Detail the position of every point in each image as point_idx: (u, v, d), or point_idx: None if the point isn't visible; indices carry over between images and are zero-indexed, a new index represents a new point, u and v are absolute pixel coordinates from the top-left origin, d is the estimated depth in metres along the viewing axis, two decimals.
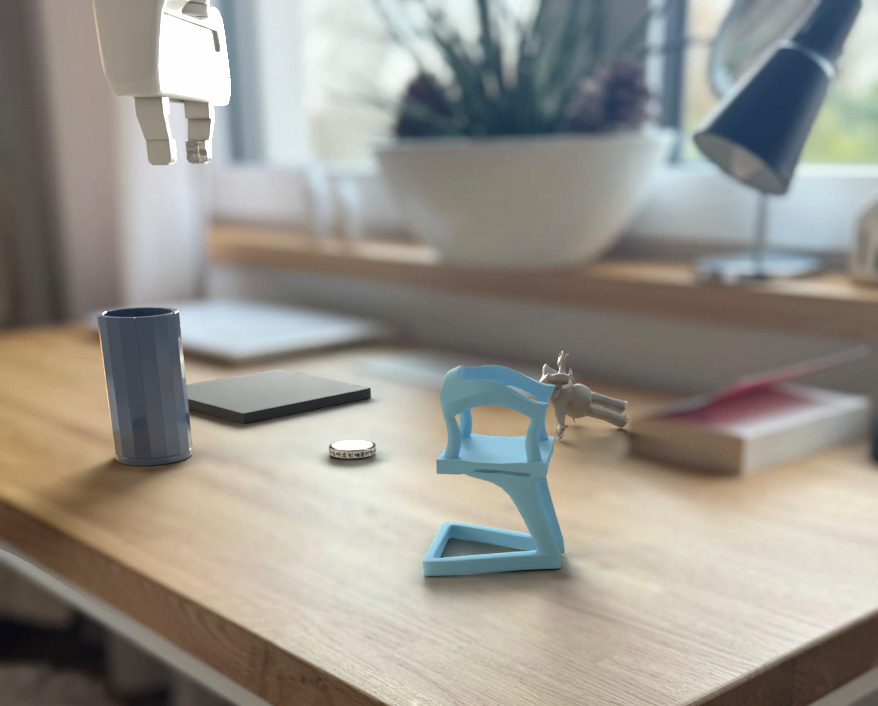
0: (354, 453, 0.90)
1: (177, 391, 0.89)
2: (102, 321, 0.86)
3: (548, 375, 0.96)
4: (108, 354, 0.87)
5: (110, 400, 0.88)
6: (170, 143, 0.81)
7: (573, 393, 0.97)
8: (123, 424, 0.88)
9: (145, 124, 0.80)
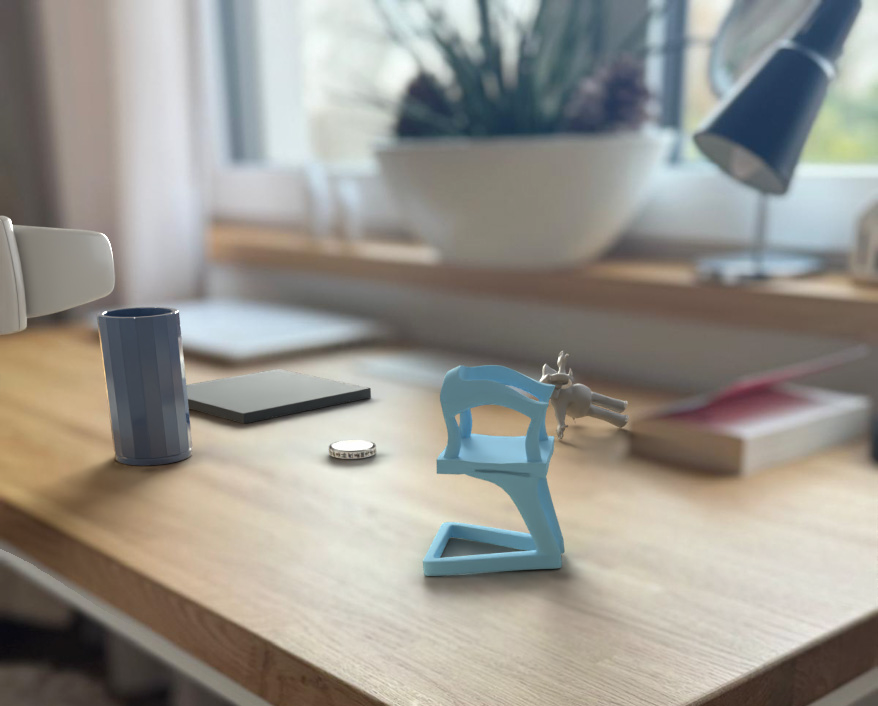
0: (354, 453, 0.90)
1: (177, 391, 0.89)
2: (102, 321, 0.86)
3: (548, 375, 0.96)
4: (108, 354, 0.87)
5: (110, 400, 0.88)
6: None
7: (573, 393, 0.97)
8: (123, 424, 0.88)
9: None
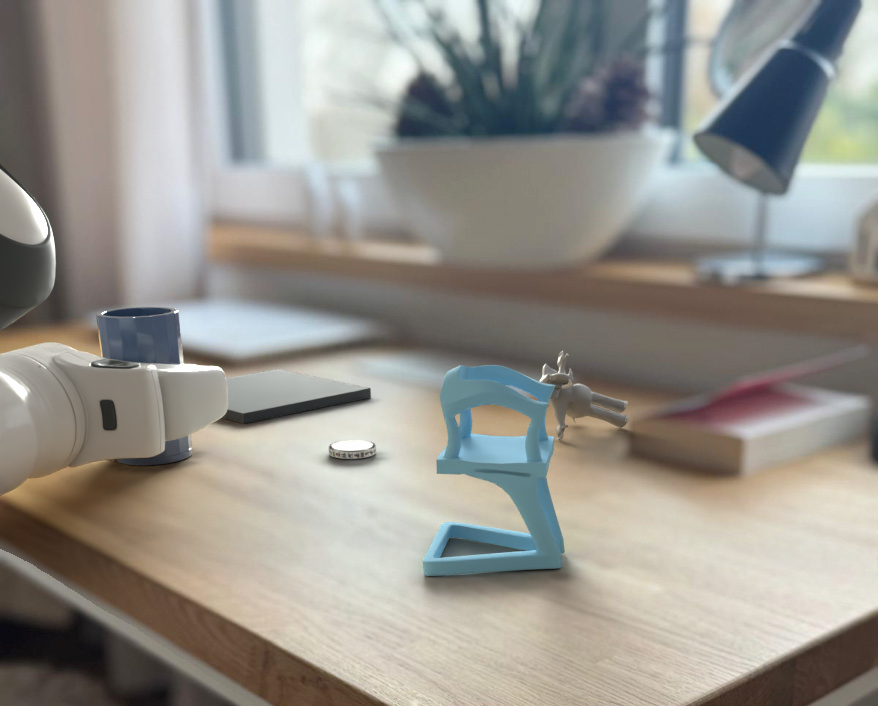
0: (354, 453, 0.90)
1: None
2: (102, 321, 0.86)
3: (548, 375, 0.96)
4: (107, 354, 0.87)
5: None
6: None
7: (573, 393, 0.97)
8: None
9: None
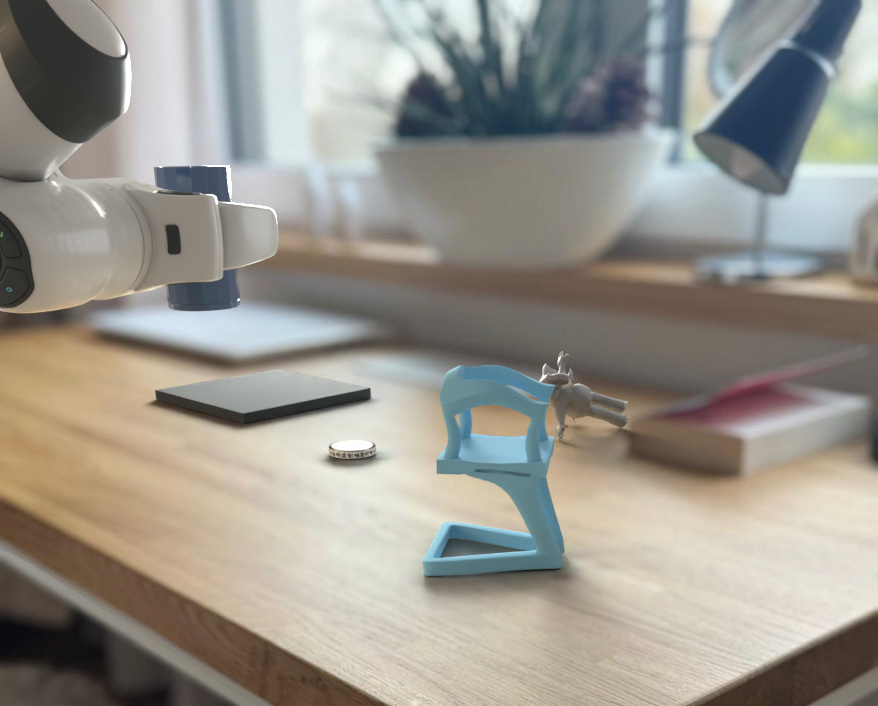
0: (354, 453, 0.90)
1: None
2: (160, 172, 0.93)
3: (548, 375, 0.96)
4: None
5: None
6: None
7: (573, 393, 0.97)
8: None
9: None
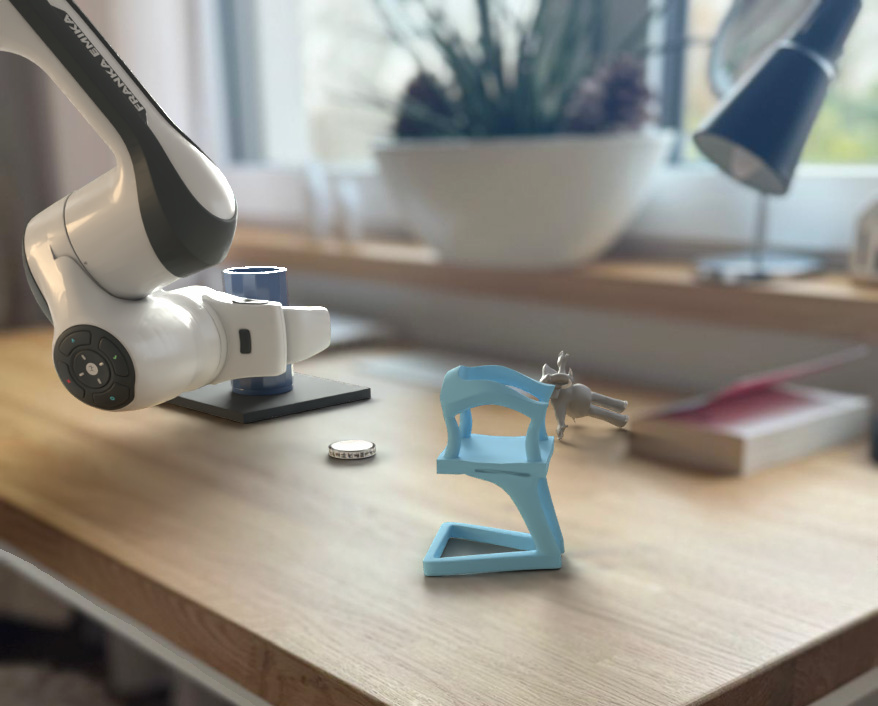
0: (354, 453, 0.90)
1: None
2: (227, 277, 1.06)
3: (548, 375, 0.96)
4: None
5: None
6: None
7: (573, 393, 0.97)
8: None
9: None
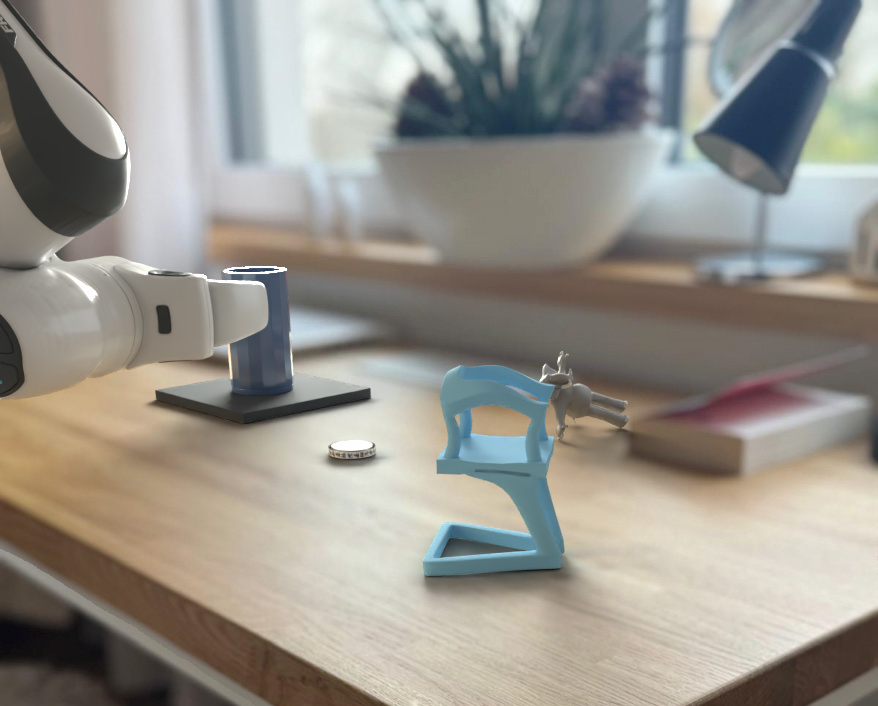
0: (354, 453, 0.90)
1: (285, 335, 1.09)
2: (227, 277, 1.06)
3: (548, 375, 0.96)
4: None
5: None
6: None
7: (573, 393, 0.97)
8: (242, 361, 1.09)
9: None
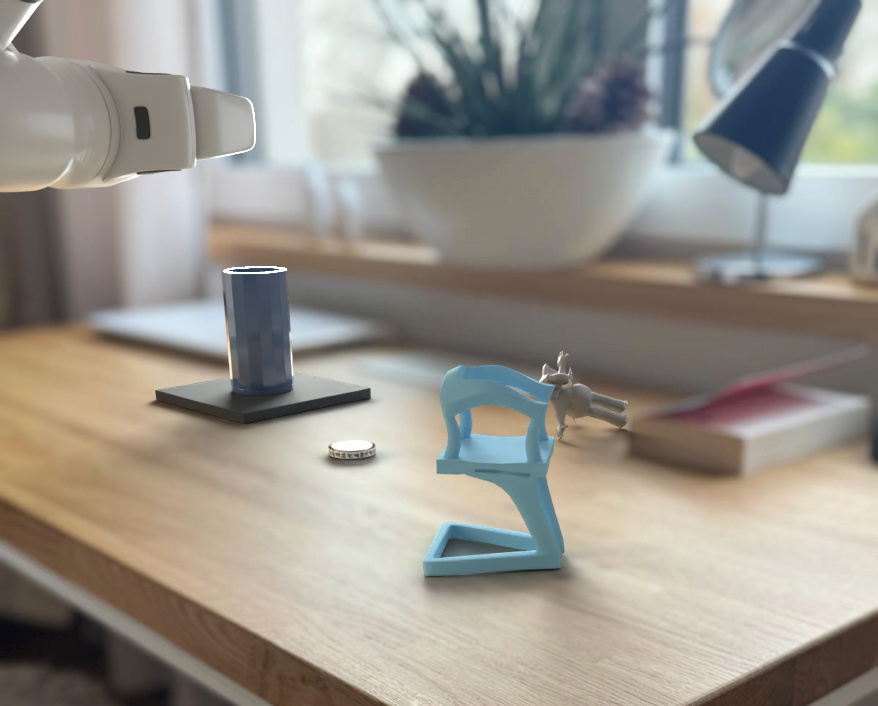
0: (353, 453, 0.90)
1: (285, 335, 1.09)
2: (227, 277, 1.06)
3: (548, 375, 0.96)
4: (231, 303, 1.07)
5: (231, 342, 1.09)
6: None
7: (573, 393, 0.97)
8: (242, 361, 1.09)
9: None
